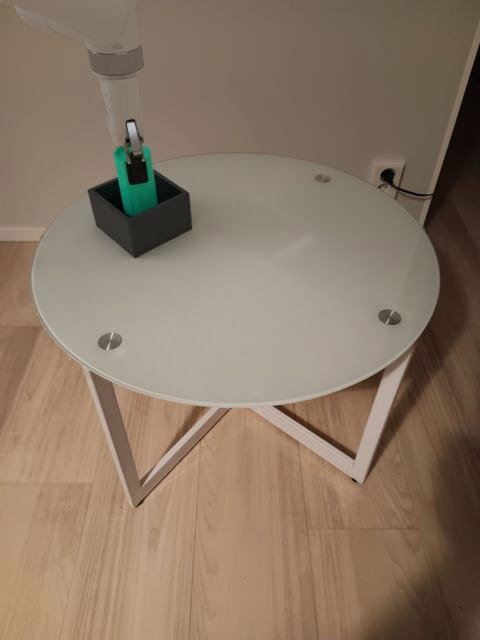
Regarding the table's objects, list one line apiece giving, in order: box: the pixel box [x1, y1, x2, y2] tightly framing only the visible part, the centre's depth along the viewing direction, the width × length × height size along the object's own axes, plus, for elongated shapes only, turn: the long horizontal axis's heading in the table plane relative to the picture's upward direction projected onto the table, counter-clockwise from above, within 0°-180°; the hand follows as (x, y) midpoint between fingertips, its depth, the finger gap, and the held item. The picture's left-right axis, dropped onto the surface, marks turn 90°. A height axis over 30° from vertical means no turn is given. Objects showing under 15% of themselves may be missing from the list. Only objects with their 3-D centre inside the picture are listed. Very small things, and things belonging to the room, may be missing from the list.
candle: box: [112, 144, 158, 216], centre depth 86 cm, size 6×6×12 cm
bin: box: [87, 168, 193, 259], centre depth 90 cm, size 13×13×8 cm
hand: (134, 171), depth 85 cm, fingers closed on candle, 5 cm apart
